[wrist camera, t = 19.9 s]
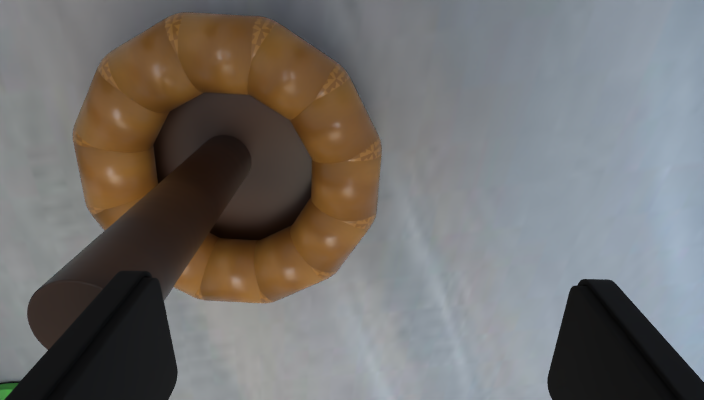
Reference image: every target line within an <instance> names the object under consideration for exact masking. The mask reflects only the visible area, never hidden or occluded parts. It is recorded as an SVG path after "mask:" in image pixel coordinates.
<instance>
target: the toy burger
mask: <svg viewBox="0 0 704 400" xmlns="http://www.w3.org/2000/svg"><path fill="white" fill-rule="evenodd" d="M18 384H19V383H7V384H0V400H4V399H5V398H6V397H7V396H8V395H9V394H10V393H11V391H12V390H13V389H14V388H15V387H16V386H17V385H18Z"/></svg>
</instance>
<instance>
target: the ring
mask: <svg viewBox="0 0 704 400" xmlns="http://www.w3.org/2000/svg"><path fill="white" fill-rule="evenodd" d="M202 93H222V94H240V95H250V96H252V97H253V98H255V99H256V100H258V101H260V102H261V103H263V104H264V105H266V106H268V107H269V108H271V109H272V110H274V111H276V112H277V113H279V114H280V115H282V116H284V117H285V118H287V119H288V120H290V121H291V123H292V125H293V127H294V128H295V130H296V132H297V134H298V135H299V137H300V139H301V141H302V143H303V144H304V146H305V148H306V150H307V151H308V153H309V155H310V157H311V158H312V179H311V198H310V199H309V201H308V202H307V204H306V205H305V207H304V208H303V210H302V211H301V213H300V214H299V216H298V217H297V219H296V220H295V222H294V223H293V225H292V226H289V227H287V228H285V229H283V230H281V231H279V232H276V233H274V234H272V235H270V236H268V237H266V238H264V239H261V240H244V239H225V238H219V237H217V236H215V235H213V234H211V233H209V234H208V235H207V237H206V238H205V240H204V241H203V243H202V244H201V246H200V247H199V249H198V250H197V252H196V253H195V255H194V256H193V258H192V259H191V261H190V262H189V264H188V265H187V267H186V268H185V270H184V271H183V273H182V274H181V276H180V277H179V279H178V281H177V282H176V284H175V285H174V287H175V288H177V289H179V290H181V291H183V292H184V293H186V294H188V295H190V296H192V297H195V298H197V299H201V300H208V301H228V302H248V303H271V302H274V301H277V300H279V299H282V298H284V297H286V296H289V295H291V294H293V293H296V292H298V291H300V290H302V289H305V288H307V287H309V286H312V285H314V284H316V283H319V282H321V281H323V280H326V279H328V278H329V277H331V276H332V275H334V274H335V273H336V272H337V271H338V269H339V268H340V267H341V265H342V264H343V263H344V261H345V260H346V259H347V257H348V256H349V255H350V253H351V252H352V251H353V249H354V248H355V247H356V245H357V244H358V243H359V241H360V240H361V239H362V237H363V236H364V235H365V233H366V232H367V231H368V229H369V228H370V227H371V225H372V223H373V222H374V219H375V217H376V212H377V202H378V190H379V178H380V166H381V154H382V147H381V141H380V138H379V136H378V133H377V131H376V129H375V127H374V125H373V123H372V121H371V119H370V117H369V115H368V113H367V111H366V109H365V107H364V105H363V103H362V101H361V99H360V97H359V95H358V93H357V91H356V89H355V87H354V85H353V83H352V81H351V79H350V77H349V76H348V74H347V72H346V71H345V70H344V69H343V67H342V66H341V65H339V64H338V63H337V62H336V61H334V60H333V59H331V58H330V57H328V56H327V55H325V54H324V53H322V52H321V51H319V50H318V49H316V48H315V47H313V46H312V45H310V44H309V43H307V42H306V41H304V40H303V39H301V38H300V37H299V36H297V35H296V34H294V33H293V32H291V31H290V30H288V29H287V28H285V27H284V26H282V25H281V24H279V23H277V22H276V21H274V20H272V19H269V18H266V17H260V16H245V15H228V14H210V13H193V12H183V13H178V14H174V15H171V16H169V17H167V18H166V19H164V20H162V21H161V22H159V23H157V24H156V25H154V26H152V27H151V28H149V29H147V30H146V31H144V32H142V33H141V34H139V35H137V36H136V37H134V38H132V39H131V40H129V41H127V42H126V43H124V44H122V45H121V46H119V47H117V48H116V49H114V50H112V51H111V52H110V53H108V54H107V55H106V56H105V57H104V58H103V59H102V61H101V62H100V64H99V66H98V68H97V71H96V73H95V75H94V78H93V80H92V83H91V85H90V88H89V90H88V93H87V95H86V98H85V100H84V102H83V105H82V107H81V110H80V112H79V115H78V117H77V120H76V122H75V125H74V129H73V142H74V147H75V152H76V157H77V162H78V167H79V172H80V177H81V182H82V187H83V192H84V197H85V202H86V205H87V208H88V210H89V211H90V213H91V214H92V216H93V217H94V218H95V219H96V221H97V222H98V223H99V224H100V226H101V227H102V228H103V229H104V231H105V230H106V229H107V228H109V227H110V226H111V225H112V224H113V223H114V222H115V221H117V220H118V219H119V218H120V217H121V216H122V215H123V214H125V213H126V212H127V211H128V210H129V209H130V208H131V207H132V206H134V205H135V204H136V203H137V202H138V201H139V200H140V199H142V198H143V197H144V196H145V195H146V194H147V193H148V192H150V191H151V190H152V189H153V188H154V187H155V186H156V185H158V179H157V171H156V163H155V155H154V147H153V144H154V142H155V140H156V138H157V136H158V134H159V132H160V130H161V128H162V126H163V124H164V122H165V120H166V118H167V116H168V114H169V112H170V111H172V110H173V109H175V108H177V107H179V106H181V105H182V104H184V103H186V102H188V101H190V100H192V99H193V98H195V97H197V96H199V95H201V94H202Z"/></svg>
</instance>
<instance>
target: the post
mask: <svg viewBox="0 0 704 400" xmlns="http://www.w3.org/2000/svg"><path fill="white" fill-rule="evenodd" d="M153 147H154V155H155V163H156V171H157V179H158V185H156V186H155V187H154V188H153V189H152V190H151V191H150V192H148V193H147V194H146V195H145V196H144V197H143V198H142V199H140V200H139V201H138V202H137V203H136V204H135V205H134V206H132V207H131V208H130V209H129V210H128V211H127V212H126V213H125V214H123V215H122V216H121V217H120V218H119V219H118V220H117V221H115V222H114V223H113V224H112V225H111V226H110V227H109V228H107V229H106V230H105V231H104V232H103V233H102V234H101V235H99V236H98V237H97V238H96V239H95V240H94V241H93V242H91V243H90V244H89V245H88V246H87V247H86V248H85V249H84V250H82V251H81V252H80V253H79V254H78V255H77V256H76V257H74V258H73V259H72V260H71V261H70V262H69V263H68V264H66V265H65V266H64V267H63V268H62V269H61V270H60V271H58V272H57V273H56V274H55V275H54V276H53V277H52V278H50V279H49V280H48V281H47V282H46V283H45V284H44V285H42V286H41V287H40V288H39V289H38V290H37V291H36V292H35V293H34V294H33V296H32V297H31V299H30V302H29V305H28V310H27V316H28V322H29V325H30V328H31V330H32V332H33V334H34V335H35V337H36V338H37V339H38V341H39V342H40V343H41V344H42V345H43V346H44V347H45V348H46V349H48V350H49V349H50V348H51V347H52V346H53V344H54V343H55V342H56V341H57V340H58V339H59V338H60V337H61V336H62V334H63V333H64V332H65V331H66V330H67V329H68V328H69V327H70V325H71V324H72V323H73V322H74V321H75V320H76V319H77V318H78V316H79V315H80V314H81V313H82V312H83V311H84V310H85V309H86V308H87V306H88V305H89V304H90V303H91V302H92V301H93V300H94V299H95V297H96V296H97V295H98V294H99V293H100V292H101V291H102V290H103V288H104V287H105V286H106V285H107V284H108V283H109V282H110V281H111V280H112V278H113V277H114V276H115V275H116V274H117V273H118V272H119V271H123V270H124V271H148V272H150V273H151V275H152V278H157V279H158V280H159V282H160V286H161V291H162V295H163V300H165V299H166V297H167V296H168V294H169V293H170V291H171V290H172V288H173V287H174V285H175V284H176V282H177V281H178V279H179V277H180V276H181V274H182V273H183V271H184V270H185V268H186V267H187V265H188V264H189V262H190V261H191V259H192V258H193V256H194V255H195V253H196V252H197V250H198V249H199V247H200V246H201V244H202V243H203V241H204V240H205V238H206V237H207V235H208V234H209V233H211V234H213V235H215V236H217V237H219V238H225V239H244V240H261V239H264V238H266V237H268V236H270V235H272V234H274V233H276V232H279V231H281V230H283V229H285V228H287V227H289V226H292V225H293V223H294V222H295V220H296V219H297V217H298V216H299V214H300V213H301V211H302V210H303V208H304V207H305V205H306V204H307V202H308V201H309V199H310V198H311V179H312V158H311V157H310V155H309V153H308V151H307V150H306V148H305V146H304V144H303V143H302V141H301V139H300V137H299V135H298V134H297V132H296V130H295V128H294V127H293V125H292V123H291V121H290V120H288V119H287V118H285V117H284V116H282V115H280V114H279V113H277V112H276V111H274V110H272V109H271V108H269V107H268V106H266V105H264V104H263V103H261V102H260V101H258V100H256V99H255V98H253V97H252V96H250V95H240V94H222V93H202V94H201V95H199V96H197V97H195V98H193V99H192V100H190V101H188V102H186V103H184V104H182V105H181V106H179V107H177V108H175V109H173V110H172V111H170V112H169V114H168V116H167V118H166V120H165V122H164V124H163V126H162V128H161V130H160V132H159V134H158V136H157V138H156V140H155V142H154V144H153Z"/></svg>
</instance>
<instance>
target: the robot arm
mask: <svg viewBox="0 0 704 400" xmlns="http://www.w3.org/2000/svg"><path fill="white" fill-rule="evenodd" d="M176 381H177V365H176V360H175V355H174V350H173V345H172V340H171V335H170V330H169V325H168V320H167V315H166V310H165V305H164V300H163V295H162V291H161V286H160V282H159V280H158V279H157V278H152V275H151V273H150V272H148V271H124V270H123V271H119V272H118V273H117V274H116V275H115V276H114V277H113V278H112V280H111V281H110V282H109V283H108V284H107V285H106V286H105V287H104V288H103V290H102V291H101V292H100V293H99V294H98V295H97V296H96V297H95V299H94V300H93V301H92V302H91V303H90V304H89V305H88V306H87V308H86V309H85V310H84V311H83V312H82V313H81V314H80V315H79V316H78V318H77V319H76V320H75V321H74V322H73V323H72V324H71V325H70V327H69V328H68V329H67V330H66V331H65V332H64V333H63V334H62V336H61V337H60V338H59V339H58V340H57V341H56V342H55V343H54V344H53V346H52V347H51V348H50V349H49V350H48V351H47V352H46V353H45V355H44V356H43V357H42V358H41V359H40V360H39V361H38V362H37V363H36V365H35V366H34V367H33V368H32V369H31V370H30V371H29V372H28V374H27V375H26V376H25V377H24V378H23V379H22V380H21V381H20V383H19V384H18V385H17V386H16V387H15V388H14V389H13V390H12V391H11V393H10V394H9V395H8V396H7V397H6V398H5V399H4V400H168V399H169V397H170V395H171V393H172V391H173V389H174V387H175V384H176ZM548 390H549V393H550V396H551V398H552V400H704V382H703V381H702V380H701V379H700V378H699V376H698V375H697V374H696V373H695V372H694V371H693V370H692V369H691V367H690V366H689V365H688V364H687V363H686V362H685V361H684V360H683V359H682V357H681V356H680V355H679V354H678V353H677V352H676V351H675V350H674V348H673V347H672V346H671V345H670V344H669V343H668V342H667V341H666V339H665V338H664V337H663V336H662V335H661V334H660V333H659V332H658V331H657V329H656V328H655V327H654V326H653V325H652V324H651V323H650V322H649V320H648V319H647V318H646V317H645V316H644V315H643V314H642V313H641V311H640V310H639V309H638V308H637V307H636V306H635V305H634V304H633V303H632V301H631V300H630V299H629V298H628V297H627V296H626V295H625V294H624V292H623V291H622V290H621V289H620V288H619V287H618V286H617V285H616V284H615V283H614V282H613V281H612V280H598V279H583V280H581V281H580V282H579V283H578V286H573V287H572V288H571V289H570V292H569V296H568V300H567V304H566V308H565V312H564V316H563V320H562V323H561V327H560V331H559V335H558V339H557V343H556V347H555V351H554V355H553V359H552V363H551V366H550V370H549V374H548Z"/></svg>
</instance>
